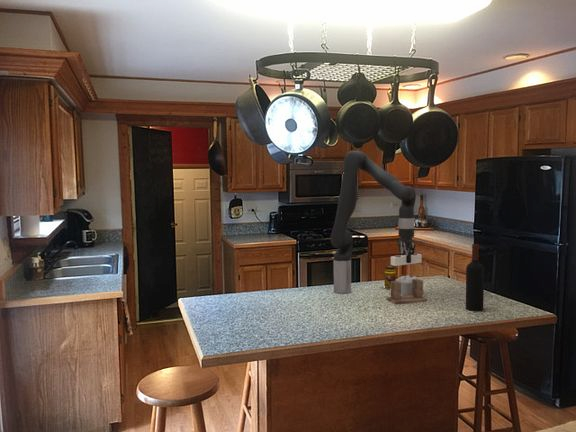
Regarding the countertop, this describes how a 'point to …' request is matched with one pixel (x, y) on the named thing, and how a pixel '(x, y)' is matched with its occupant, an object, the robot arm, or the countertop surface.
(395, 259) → the frame bar
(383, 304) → the countertop surface
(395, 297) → the stand
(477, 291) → the wine bottle
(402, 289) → the paw print tray
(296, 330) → the countertop surface
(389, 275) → the condiment
